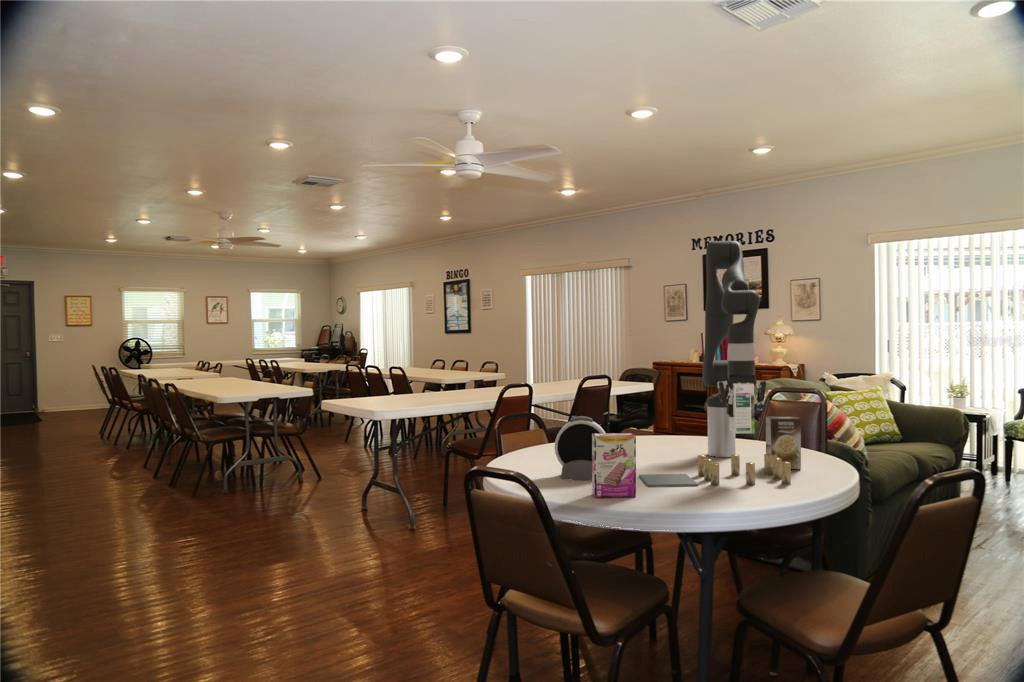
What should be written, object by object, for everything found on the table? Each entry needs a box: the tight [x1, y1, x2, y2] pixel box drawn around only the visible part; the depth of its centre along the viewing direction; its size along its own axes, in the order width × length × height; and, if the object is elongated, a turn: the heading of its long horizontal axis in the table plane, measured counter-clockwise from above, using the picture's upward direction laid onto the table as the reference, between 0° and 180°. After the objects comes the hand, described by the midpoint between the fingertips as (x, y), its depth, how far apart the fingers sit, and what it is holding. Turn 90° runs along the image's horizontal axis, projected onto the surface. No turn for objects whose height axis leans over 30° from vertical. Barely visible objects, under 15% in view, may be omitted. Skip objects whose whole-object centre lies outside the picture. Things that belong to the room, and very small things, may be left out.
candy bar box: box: [591, 432, 637, 499], centre depth 179 cm, size 11×5×16 cm, turn 92°
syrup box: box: [729, 383, 756, 435], centre depth 196 cm, size 6×6×14 cm
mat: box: [638, 473, 699, 487], centre depth 196 cm, size 14×14×1 cm
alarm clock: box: [554, 415, 607, 481], centre depth 204 cm, size 16×10×18 cm, turn 81°
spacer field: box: [697, 453, 792, 486], centre depth 196 cm, size 15×22×6 cm
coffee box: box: [765, 415, 802, 471], centre depth 212 cm, size 9×6×16 cm
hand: (741, 416), depth 196 cm, fingers closed on syrup box, 5 cm apart
